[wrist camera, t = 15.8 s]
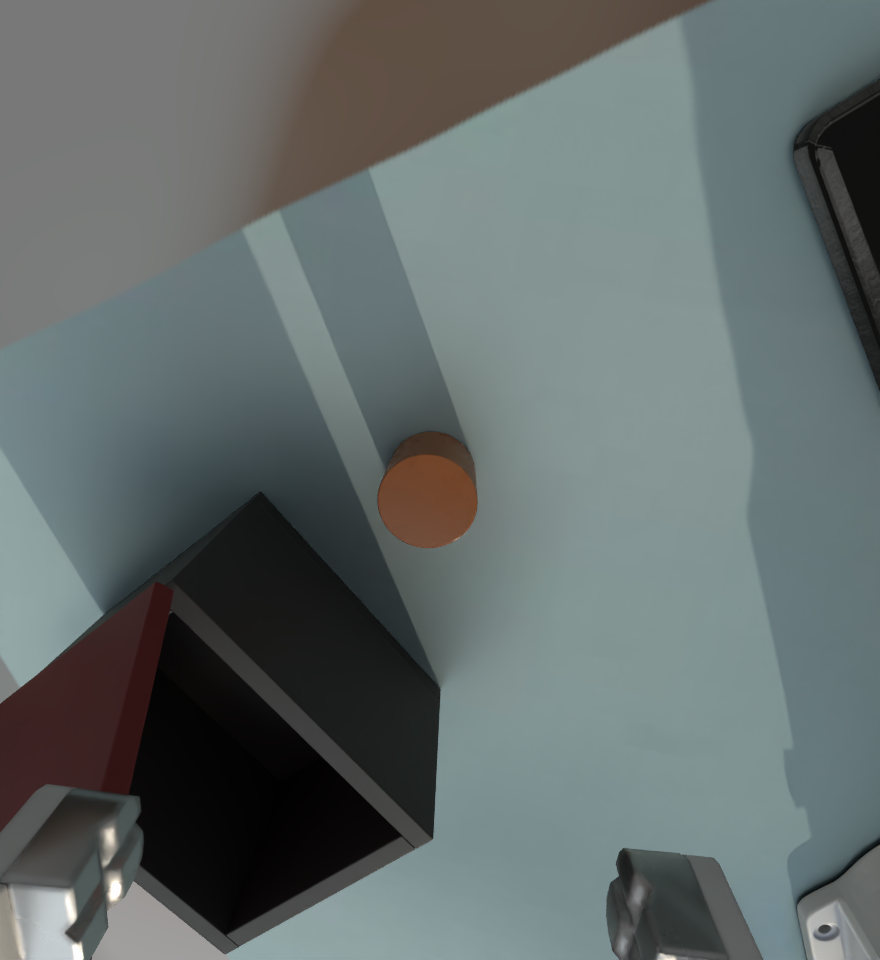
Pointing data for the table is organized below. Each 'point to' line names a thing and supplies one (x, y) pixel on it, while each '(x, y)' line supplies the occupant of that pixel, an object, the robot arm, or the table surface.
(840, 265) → the phone
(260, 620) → the dark grey box
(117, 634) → the lid
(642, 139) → the table surface
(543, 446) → the table surface
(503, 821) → the table surface
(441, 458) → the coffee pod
